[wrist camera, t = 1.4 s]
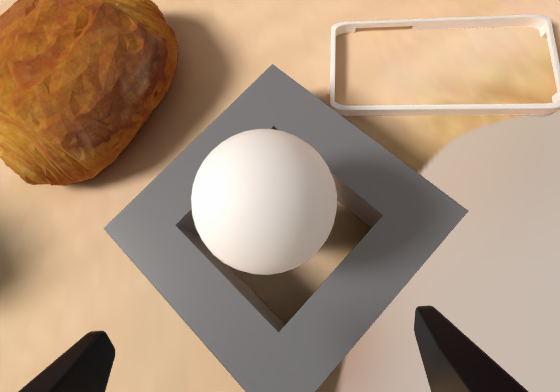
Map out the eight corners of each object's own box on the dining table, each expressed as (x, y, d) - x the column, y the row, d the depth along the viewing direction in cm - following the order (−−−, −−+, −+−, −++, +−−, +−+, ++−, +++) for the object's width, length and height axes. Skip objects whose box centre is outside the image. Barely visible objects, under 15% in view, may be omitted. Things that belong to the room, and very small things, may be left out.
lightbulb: (223, 261, 22) (136, 233, 11) (257, 177, 23) (206, 82, 13) (313, 295, 21) (307, 298, 10) (342, 204, 22) (364, 124, 12)
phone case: (329, 119, 24) (555, 118, 23) (330, 109, 23) (569, 107, 21) (330, 34, 26) (538, 27, 25) (331, 21, 25) (550, 12, 23)
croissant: (224, 80, 28) (203, -8, 21) (87, 226, 24) (-2, 178, 16) (104, 10, 32) (49, -88, 24) (-38, 126, 27) (-160, 49, 20)
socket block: (441, 225, 21) (468, 210, 17) (288, 404, 19) (280, 432, 15) (279, 99, 25) (272, 64, 21) (139, 239, 23) (103, 228, 19)
